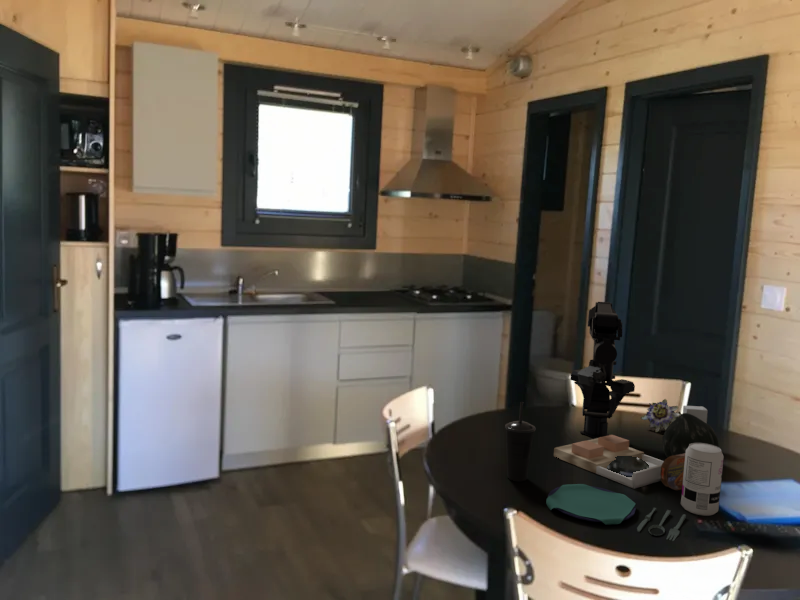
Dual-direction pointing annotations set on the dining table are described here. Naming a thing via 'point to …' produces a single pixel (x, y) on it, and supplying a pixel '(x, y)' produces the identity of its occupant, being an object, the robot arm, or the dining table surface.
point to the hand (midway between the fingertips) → (599, 410)
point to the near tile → (587, 449)
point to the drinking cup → (518, 447)
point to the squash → (687, 434)
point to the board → (592, 463)
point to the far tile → (613, 443)
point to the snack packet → (673, 471)
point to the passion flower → (661, 415)
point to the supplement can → (702, 479)
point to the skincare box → (696, 412)
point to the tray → (636, 474)
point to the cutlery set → (601, 506)
